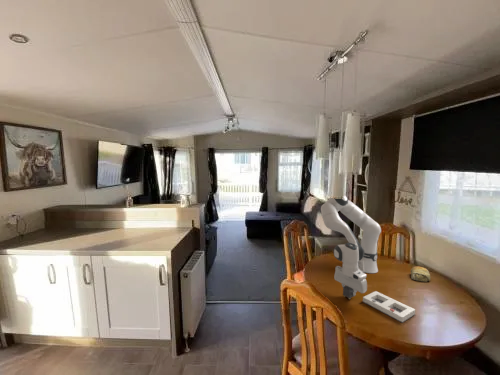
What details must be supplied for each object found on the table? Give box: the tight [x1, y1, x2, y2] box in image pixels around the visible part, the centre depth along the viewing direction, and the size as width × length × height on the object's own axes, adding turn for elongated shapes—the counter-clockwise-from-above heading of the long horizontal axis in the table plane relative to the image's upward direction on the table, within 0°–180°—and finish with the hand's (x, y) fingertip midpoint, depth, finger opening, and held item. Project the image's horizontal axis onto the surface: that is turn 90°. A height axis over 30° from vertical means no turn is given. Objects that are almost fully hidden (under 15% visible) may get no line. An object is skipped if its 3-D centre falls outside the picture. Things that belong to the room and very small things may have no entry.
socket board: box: [362, 290, 416, 324], centre depth 136 cm, size 22×13×4 cm, turn 31°
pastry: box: [410, 265, 431, 283], centre depth 172 cm, size 14×12×8 cm
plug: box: [342, 285, 354, 300], centre depth 146 cm, size 4×6×6 cm
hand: (349, 293), depth 146 cm, fingers closed on plug, 4 cm apart
